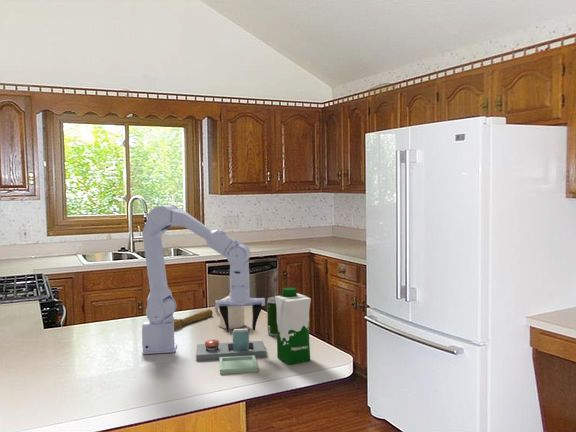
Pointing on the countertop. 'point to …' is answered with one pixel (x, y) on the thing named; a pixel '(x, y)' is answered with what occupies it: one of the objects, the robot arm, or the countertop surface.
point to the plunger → (211, 345)
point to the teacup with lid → (232, 316)
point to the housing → (224, 352)
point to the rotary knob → (240, 340)
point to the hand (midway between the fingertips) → (240, 330)
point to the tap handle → (192, 318)
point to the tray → (238, 364)
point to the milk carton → (293, 326)
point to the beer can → (272, 316)
